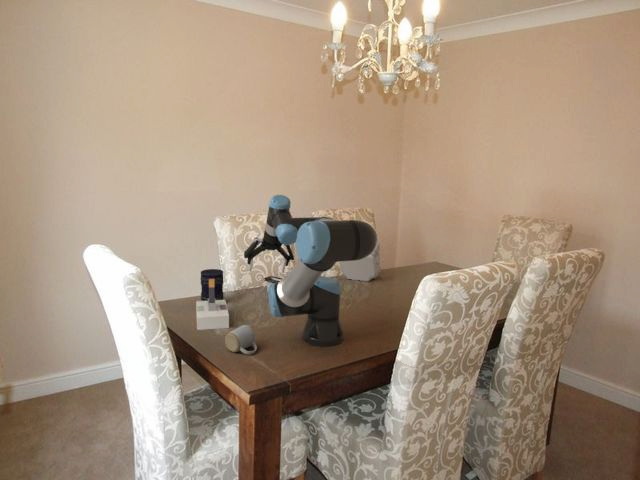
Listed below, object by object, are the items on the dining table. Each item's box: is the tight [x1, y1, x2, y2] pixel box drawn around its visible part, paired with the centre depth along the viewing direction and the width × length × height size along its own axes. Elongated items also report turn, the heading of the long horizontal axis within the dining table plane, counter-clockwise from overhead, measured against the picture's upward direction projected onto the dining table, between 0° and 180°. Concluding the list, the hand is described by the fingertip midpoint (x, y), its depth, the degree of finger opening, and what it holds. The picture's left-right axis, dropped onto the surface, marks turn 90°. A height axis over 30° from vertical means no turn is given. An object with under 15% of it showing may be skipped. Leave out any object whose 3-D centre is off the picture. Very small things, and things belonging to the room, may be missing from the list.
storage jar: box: [200, 268, 224, 301], centre depth 206 cm, size 10×10×15 cm
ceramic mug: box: [224, 324, 258, 356], centre depth 160 cm, size 11×8×8 cm
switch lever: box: [209, 279, 214, 303], centre depth 186 cm, size 4×2×12 cm, turn 15°
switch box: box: [195, 298, 230, 331], centre depth 188 cm, size 20×12×8 cm, turn 15°
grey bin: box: [263, 275, 283, 293], centre depth 227 cm, size 20×25×10 cm
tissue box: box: [338, 241, 382, 282], centre depth 256 cm, size 20×16×25 cm
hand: (266, 269), depth 193 cm, fingers open, 13 cm apart
